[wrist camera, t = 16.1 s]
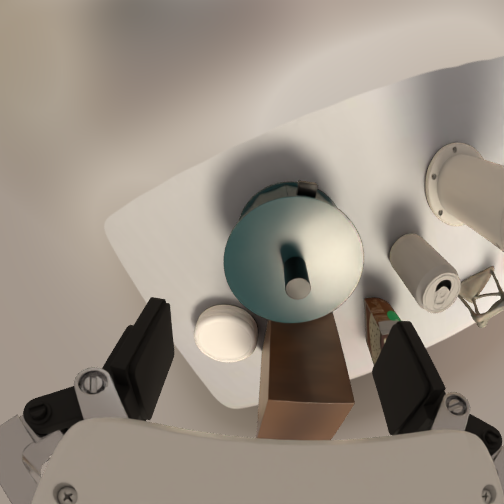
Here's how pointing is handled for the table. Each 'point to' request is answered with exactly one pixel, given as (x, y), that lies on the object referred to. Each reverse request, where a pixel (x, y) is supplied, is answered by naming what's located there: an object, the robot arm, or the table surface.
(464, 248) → the table surface
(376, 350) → the food container
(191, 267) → the table surface
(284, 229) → the lid
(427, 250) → the beverage can
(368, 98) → the table surface
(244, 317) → the white short cylinder
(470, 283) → the figurine
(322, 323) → the stand
